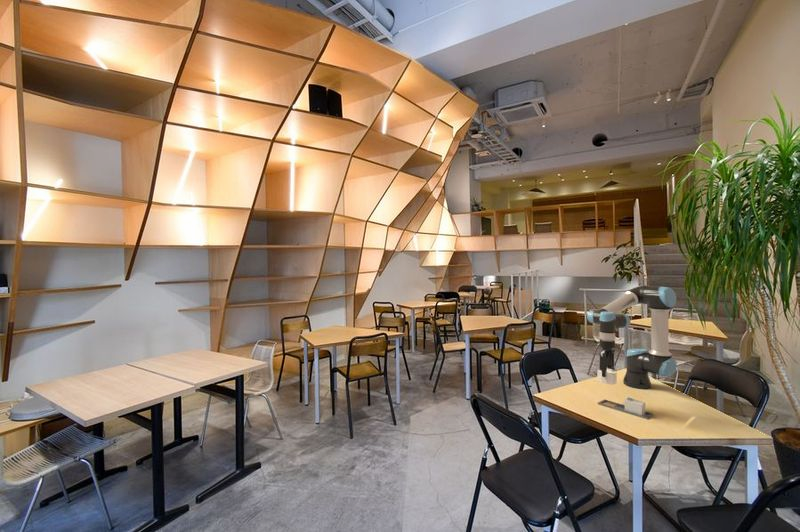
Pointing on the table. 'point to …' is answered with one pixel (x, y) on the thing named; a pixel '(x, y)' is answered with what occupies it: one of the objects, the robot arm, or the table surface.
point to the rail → (622, 408)
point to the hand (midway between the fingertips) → (606, 381)
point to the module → (608, 377)
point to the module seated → (635, 406)
